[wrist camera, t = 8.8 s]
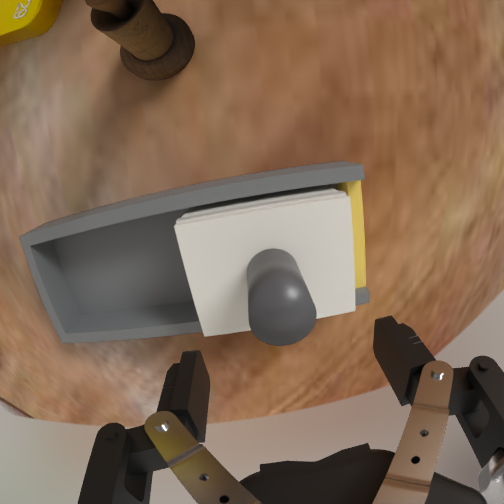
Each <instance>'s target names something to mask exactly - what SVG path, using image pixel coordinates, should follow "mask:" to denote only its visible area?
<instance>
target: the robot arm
mask: <svg viewBox="0 0 504 504" xmlns="http://www.w3.org/2000/svg"><path fill="white" fill-rule="evenodd" d="M373 349H374V354H375V357H376V359H377V361H378V363H379V364H380V366H381V368H382V370H383V372H384V374H385V375H386V377H387V379H388V381H389V383H390V385H391V387H392V389H393V390H394V392H395V394H396V396H397V398H398V400H399V402H400V404H401V406H404V405H406V404H409V403H410V405H411V407H412V408H411V411H410V414H409V418H408V421H407V423H406V426H405V429H404V432H403V435H402V438H401V440H400V443H399V445H398V448H397V451H396V453H394V452H391V451H387V450H380V449H373V450H372V449H371V450H370V447H369V445H368V443H366V444H363V445H359V446H356V447H352V448H348V449H344V450H341V451H339V452H337V453H335V454H333V455H330V456H328V457H326V458H324V459H321V460H319V461H316V462H303V461H282V462H276V463H268V464H260V471H259V472H256V473H254V474H252V475H249V476H248V477H246V478H244V479H243V480H241V481H240V482H238V481H237V480H236V479H235V478H234V477H233V476H232V475H231V474H230V473H229V472H228V471H227V470H226V469H225V468H224V467H223V466H222V465H221V464H220V463H219V462H218V461H217V460H216V458H215V457H214V456H213V455H212V454H211V453H210V452H209V451H208V450H207V449H206V448H205V447H204V446H203V445H202V444H201V445H200V444H199V443H200V442H205V434H206V423H207V413H208V402H209V392H210V379H209V374H208V372H207V369H206V366H205V363H204V360H203V357H202V354H201V352H200V351H199V350H196V351H186V352H183V353H182V357H181V361H180V363H174V364H173V365H172V366H171V367H170V369H169V370H168V371H167V374H166V378H165V382H164V386H163V387H164V388H163V389H162V393H161V397H160V401H159V404H158V408H157V412H156V413H154V414H152V415H151V416H149V417H148V419H147V420H146V422H145V424H144V425H142V426H138V427H134V428H130V429H125V427H124V426H123V425H121V424H119V423H109V424H107V425H105V426H103V427H102V428H101V429H100V430H99V431H98V433H97V436H96V439H95V442H94V446H93V449H92V453H91V456H90V459H89V463H88V466H87V470H86V474H85V477H84V481H83V485H82V488H81V492H80V496H79V500H78V504H149V501H150V500H149V499H150V492H151V483H152V475H153V471H156V470H160V469H165V468H168V467H170V469H171V470H172V471H173V473H174V474H175V475H176V477H177V478H178V480H179V481H180V482H181V483H182V485H183V486H184V487H185V489H186V490H187V491H188V492H189V494H190V495H191V496H192V497H193V499H194V500H195V501H196V502H197V503H198V504H504V372H503V371H502V370H501V368H500V367H499V366H498V364H497V363H496V362H495V361H494V360H493V359H492V358H490V357H487V356H478V357H475V358H474V359H473V360H472V361H471V362H470V365H469V367H462V368H452V367H451V366H450V365H449V364H447V363H446V362H443V361H436V359H435V358H434V357H433V355H432V354H431V353H430V351H429V350H428V349H427V347H426V346H425V345H424V344H423V342H421V340H420V338H419V337H418V336H417V334H416V333H415V332H414V331H413V329H412V328H410V327H409V326H407V325H405V324H403V323H402V324H398V323H397V322H396V320H395V319H394V318H393V317H392V316H387V317H383V318H379V319H376V320H375V326H374V341H373ZM449 415H456V417H457V419H458V421H459V423H460V425H461V427H462V429H463V431H464V433H465V434H466V437H467V438H468V440H469V443H470V445H471V446H472V449H473V451H474V453H475V455H476V457H477V459H478V461H479V463H480V465H481V468H482V470H481V471H480V474H479V476H478V483H479V492H478V491H477V490H475V489H473V488H471V487H468V486H466V485H463V484H461V483H458V482H456V481H454V480H452V479H449V478H447V477H445V476H443V475H440V474H438V473H436V472H434V470H435V467H436V464H437V460H438V457H439V453H440V449H441V446H442V442H443V438H444V434H445V430H446V425H447V421H448V416H449Z"/></svg>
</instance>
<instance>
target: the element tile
mask: <svg viewBox="0 0 504 504" xmlns="http://www.w3.org/2000/svg"><path fill="white" fill-rule="evenodd" d="M62 2H63V0H0V47H3V46H6V45H9V44H12V43H15V42H18V41H22V40H25V39H29V38H32V37H36V36H40V35H42V34H43V33H45V32H47V31H48V30H49V29H50V28H51V27H52V25H53V24H54V22H55V20H56V18H57V16H58V13H59V10H60V7H61V4H62Z"/></svg>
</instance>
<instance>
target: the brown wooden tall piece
mask: <svg viewBox="0 0 504 504" xmlns="http://www.w3.org/2000/svg"><path fill="white" fill-rule="evenodd" d="M85 2H86V4H87V5H88V6H90V7H92V10H91V21H92V24H93V26H94V27H95V28H96V29H98V30H99V31H101V32H102V33H104V34H105V35H107V36H108V37H110V38H111V39H113V40H114V41H116V42H117V43H118V44H120V45H121V48H120V56H121V60H122V62H123V64H124V65H125V67H126V68H127V69H128V70H130V71H131V72H132V73H134V74H135V75H137V76H139V77H141V78H143V79H148V80H160V79H165V78H168V77H171V76H173V75H175V74H177V73H178V72H180V71H181V70H182V69H183V68H184V67H185V66H186V65H187V64H188V62H189V61H190V59H191V58H192V55H193V53H194V48H195V40H194V36H193V34H192V32H191V30H190V28H189V26H188V25H187V24H186V22H185V21H184V20H182V19H181V18H179V17H178V16H175V15H172V14H167V13H161V12H160V11H159V9H158V8H157V6H156V5H155V3H154V2H153V0H85Z"/></svg>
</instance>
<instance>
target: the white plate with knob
mask: <svg viewBox="0 0 504 504" xmlns="http://www.w3.org/2000/svg"><path fill="white" fill-rule="evenodd" d="M174 228H175V232H176V236H177V241H178V244H179V248H180V252H181V256H182V260H183V264H184V268H185V271H186V275H187V279H188V282H189V286H190V290H191V293H192V297H193V300H194V304H195V307H196V310H197V314H198V317H199V321H200V324H201V327H202V331H203V334H204V337H206V336H214V335H221V334H229V333H236V332H243V331H249V330H251V331H252V332H253V334H254V335H255V336H256V337H257V338H258V339H259V340H261V341H262V342H265V343H267V344H270V345H275V346H284V345H290V344H293V343H296V342H298V341H300V340H301V339H303V338H304V337H306V336H307V335H308V334H309V333H310V331H311V330H312V328H313V327H314V325H315V322H316V319H318V318H323V317H328V316H333V315H338V314H343V313H347V312H352V311H355V266H354V244H353V228H352V214H351V202H350V197H349V196H347V195H346V192H344V191H338V190H336V189H334V188H332V187H330V186H328V185H319V186H312V187H305V188H298V189H292V190H285V191H279V192H273V193H266V194H260V195H254V196H248V197H243V198H237V199H231V200H226V201H220V202H215V203H210V204H205V205H199V206H194V207H189V209H188V210H187V211H186V212H185V214H184V215H183V216H182V217H181V218H178V219H177V220H176V225H175V226H174Z"/></svg>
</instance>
